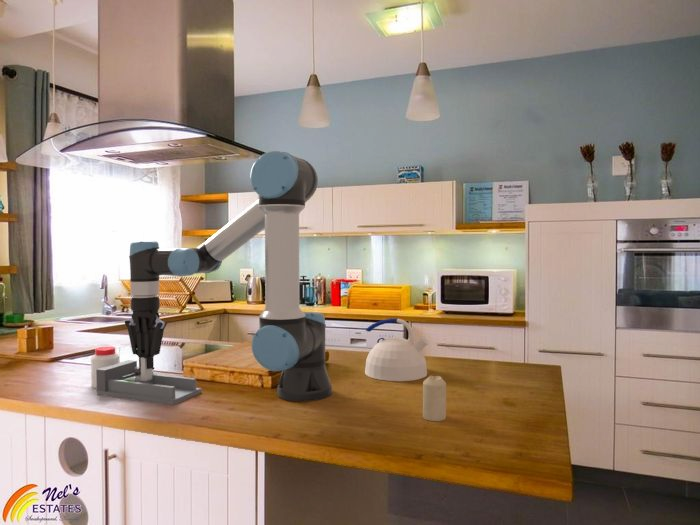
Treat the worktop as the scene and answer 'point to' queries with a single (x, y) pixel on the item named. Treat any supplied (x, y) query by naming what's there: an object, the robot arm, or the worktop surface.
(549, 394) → the worktop surface
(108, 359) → the pill bottle
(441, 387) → the white shouldered cylinder
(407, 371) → the kettle
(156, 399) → the gauge bed
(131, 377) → the slider
